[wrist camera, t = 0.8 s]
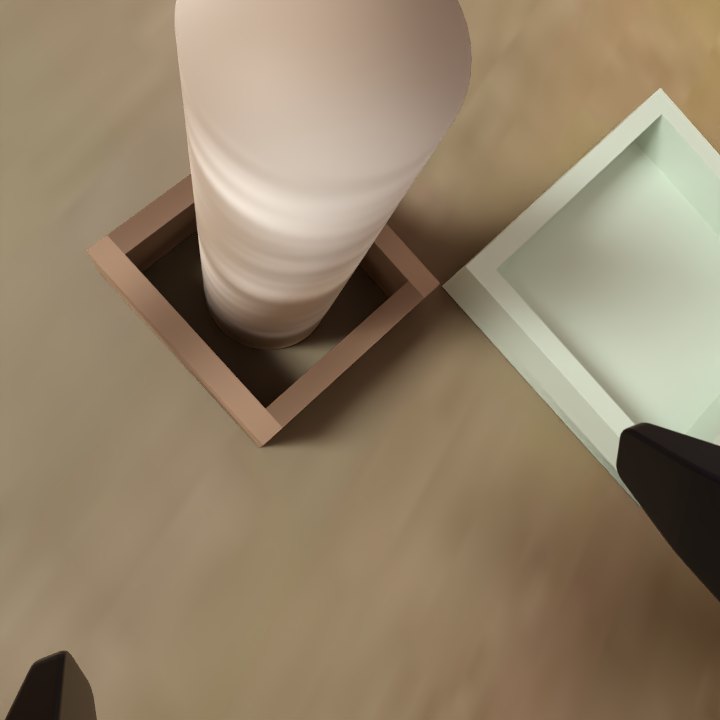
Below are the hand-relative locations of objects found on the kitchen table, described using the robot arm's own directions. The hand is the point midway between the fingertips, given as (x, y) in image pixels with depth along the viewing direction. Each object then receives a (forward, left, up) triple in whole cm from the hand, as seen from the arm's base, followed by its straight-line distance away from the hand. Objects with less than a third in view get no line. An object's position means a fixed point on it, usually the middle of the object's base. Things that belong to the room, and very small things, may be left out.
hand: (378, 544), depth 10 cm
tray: (-4, -15, -13) cm, 20 cm away
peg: (+6, -4, -13) cm, 15 cm away
